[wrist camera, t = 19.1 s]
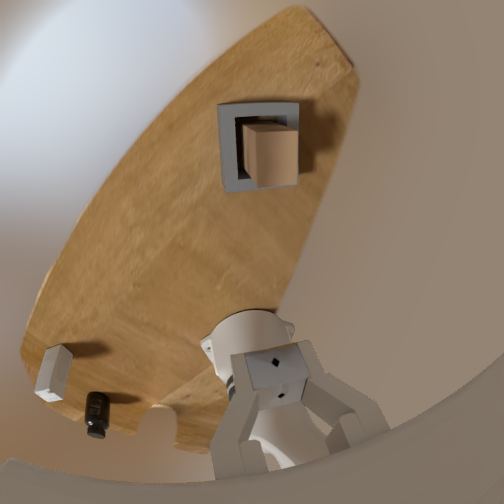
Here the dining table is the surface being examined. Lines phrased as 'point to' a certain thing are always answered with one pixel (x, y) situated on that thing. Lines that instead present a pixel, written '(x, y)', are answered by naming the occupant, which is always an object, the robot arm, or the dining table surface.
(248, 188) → the holder
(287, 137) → the walnut peg
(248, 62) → the dining table surface
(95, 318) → the dining table surface
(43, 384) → the skincare box
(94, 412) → the supplement bottle
